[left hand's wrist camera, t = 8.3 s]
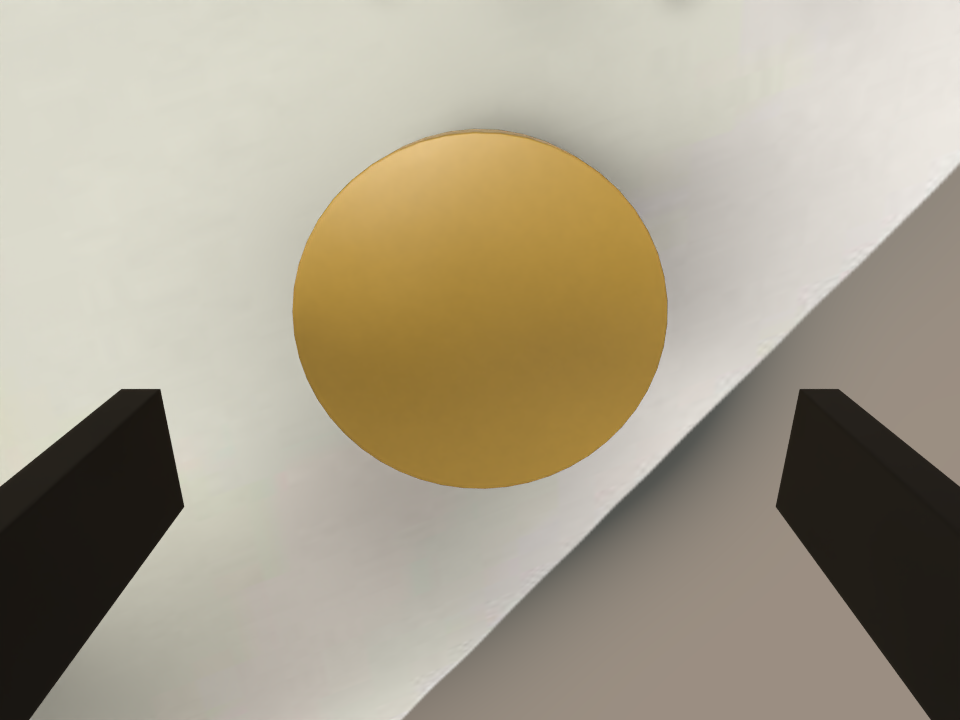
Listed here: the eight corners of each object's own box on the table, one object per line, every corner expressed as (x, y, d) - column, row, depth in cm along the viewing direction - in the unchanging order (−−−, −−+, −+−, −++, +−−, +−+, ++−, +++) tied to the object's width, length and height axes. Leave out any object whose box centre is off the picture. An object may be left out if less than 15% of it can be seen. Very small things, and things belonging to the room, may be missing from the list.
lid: (639, 452, 24) (654, 484, 22) (330, 461, 24) (317, 493, 22) (663, 122, 20) (683, 124, 18) (286, 135, 20) (264, 139, 18)
